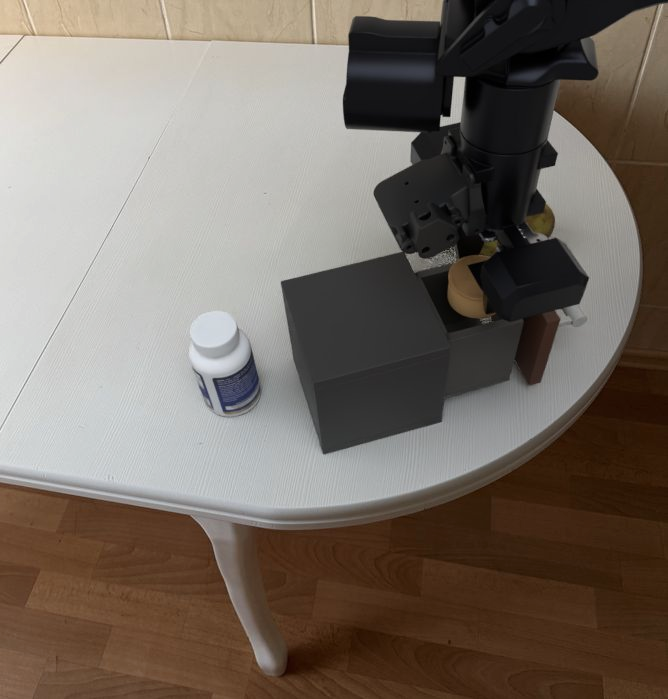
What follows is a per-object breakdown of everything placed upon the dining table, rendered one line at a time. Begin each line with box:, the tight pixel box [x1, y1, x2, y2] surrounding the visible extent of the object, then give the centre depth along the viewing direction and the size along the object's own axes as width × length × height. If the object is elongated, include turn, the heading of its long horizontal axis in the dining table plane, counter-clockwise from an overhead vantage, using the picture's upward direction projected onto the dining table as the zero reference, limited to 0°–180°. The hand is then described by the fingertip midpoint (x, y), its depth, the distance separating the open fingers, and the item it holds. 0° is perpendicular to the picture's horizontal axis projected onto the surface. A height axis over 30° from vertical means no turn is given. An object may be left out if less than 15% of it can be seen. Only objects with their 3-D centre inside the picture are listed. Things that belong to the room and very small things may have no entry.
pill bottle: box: [188, 310, 262, 418], centre depth 62 cm, size 5×5×10 cm
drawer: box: [414, 242, 588, 398], centre depth 62 cm, size 14×10×9 cm
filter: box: [447, 254, 496, 319], centre depth 58 cm, size 5×5×2 cm
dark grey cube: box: [280, 251, 451, 455], centre depth 61 cm, size 11×11×11 cm
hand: (477, 288), depth 58 cm, fingers closed on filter, 5 cm apart
